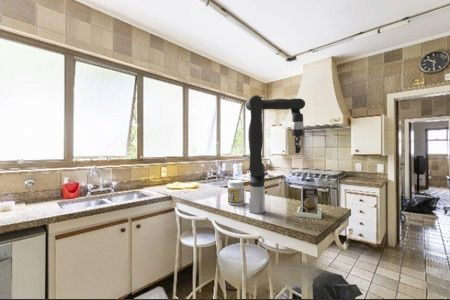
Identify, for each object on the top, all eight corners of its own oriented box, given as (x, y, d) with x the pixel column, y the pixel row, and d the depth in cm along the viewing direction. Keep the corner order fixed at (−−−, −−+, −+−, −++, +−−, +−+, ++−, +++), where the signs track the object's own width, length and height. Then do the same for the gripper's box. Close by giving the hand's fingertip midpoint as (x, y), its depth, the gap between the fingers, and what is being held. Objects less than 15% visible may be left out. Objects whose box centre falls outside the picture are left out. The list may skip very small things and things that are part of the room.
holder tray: (296, 216, 144) (296, 212, 144) (298, 210, 157) (298, 206, 157) (321, 219, 139) (321, 214, 139) (321, 212, 152) (321, 208, 152)
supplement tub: (224, 204, 176) (224, 181, 176) (235, 200, 185) (235, 179, 184) (236, 207, 168) (236, 183, 167) (247, 203, 176) (247, 181, 176)
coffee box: (302, 214, 146) (302, 188, 145) (300, 211, 152) (300, 186, 151) (318, 215, 144) (318, 189, 144) (315, 212, 150) (315, 187, 150)
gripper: (293, 129, 169) (293, 152, 170) (290, 128, 156) (290, 153, 157) (304, 129, 166) (304, 152, 167) (302, 128, 153) (302, 153, 154)
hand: (297, 152), depth 162 cm, fingers open, 8 cm apart
